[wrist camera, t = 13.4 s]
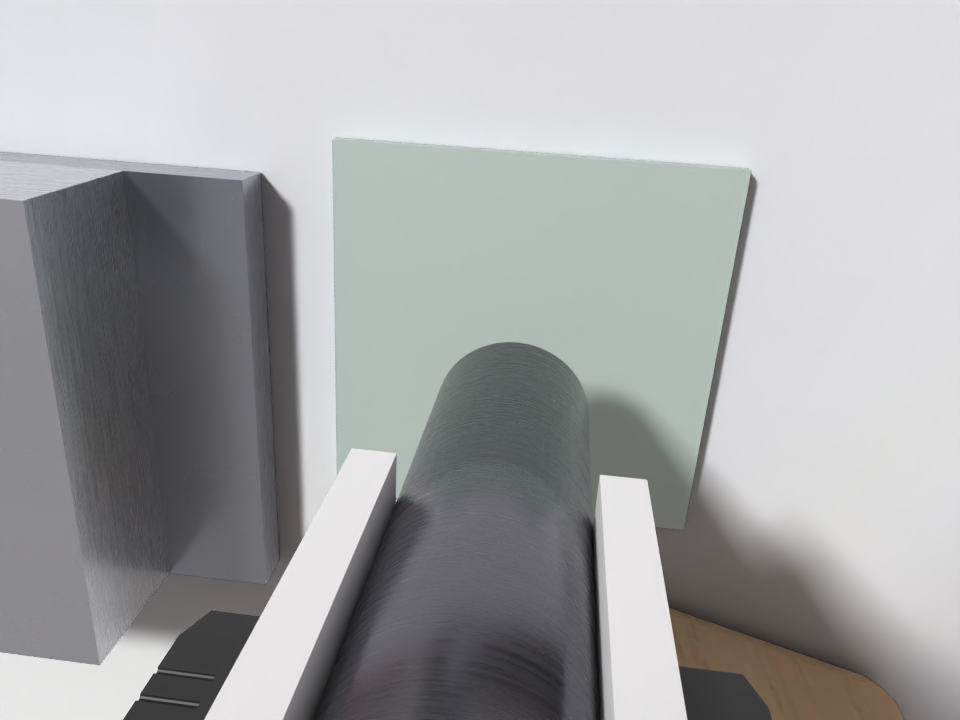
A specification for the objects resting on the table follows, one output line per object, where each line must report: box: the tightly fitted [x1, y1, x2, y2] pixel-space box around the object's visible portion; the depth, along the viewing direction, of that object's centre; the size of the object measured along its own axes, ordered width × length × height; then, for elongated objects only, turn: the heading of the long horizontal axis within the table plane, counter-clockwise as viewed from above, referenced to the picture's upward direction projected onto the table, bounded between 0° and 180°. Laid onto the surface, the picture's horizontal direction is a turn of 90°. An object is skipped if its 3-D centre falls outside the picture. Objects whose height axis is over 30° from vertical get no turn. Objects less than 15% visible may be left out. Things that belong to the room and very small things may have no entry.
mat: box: [332, 138, 751, 530], centre depth 21 cm, size 10×10×1 cm
